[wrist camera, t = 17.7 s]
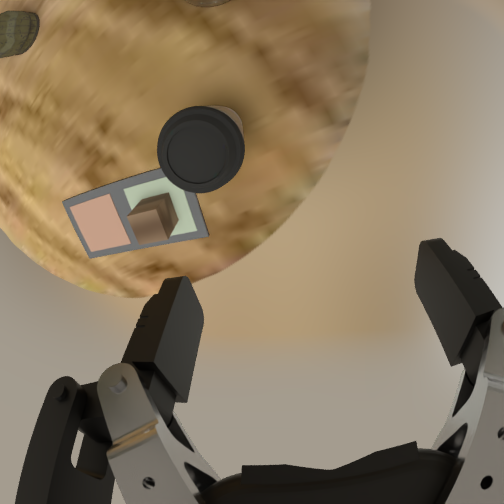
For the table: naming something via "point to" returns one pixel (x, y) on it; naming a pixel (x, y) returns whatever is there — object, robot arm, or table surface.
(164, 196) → the walnut block
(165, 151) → the coffee cup
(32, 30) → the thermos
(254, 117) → the table surface
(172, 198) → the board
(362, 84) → the table surface
